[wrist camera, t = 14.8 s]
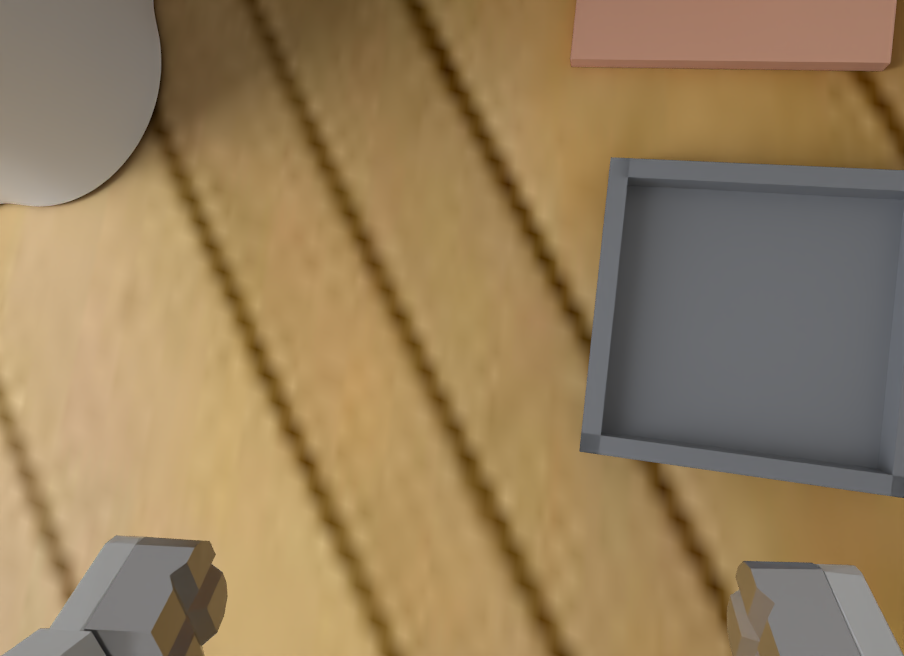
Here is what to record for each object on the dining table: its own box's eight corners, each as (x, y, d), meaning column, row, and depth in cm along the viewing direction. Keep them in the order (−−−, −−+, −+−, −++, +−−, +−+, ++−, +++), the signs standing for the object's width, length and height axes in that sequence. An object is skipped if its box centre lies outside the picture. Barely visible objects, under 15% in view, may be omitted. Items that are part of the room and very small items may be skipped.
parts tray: (580, 445, 30) (579, 451, 28) (610, 170, 30) (610, 157, 28) (891, 488, 27) (914, 499, 25) (921, 185, 27) (946, 172, 25)
